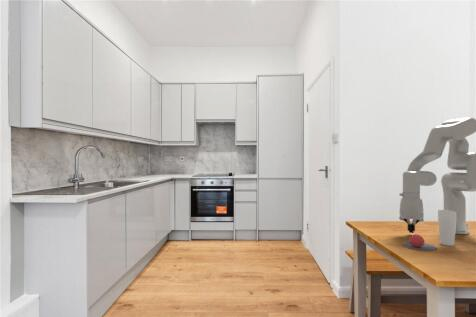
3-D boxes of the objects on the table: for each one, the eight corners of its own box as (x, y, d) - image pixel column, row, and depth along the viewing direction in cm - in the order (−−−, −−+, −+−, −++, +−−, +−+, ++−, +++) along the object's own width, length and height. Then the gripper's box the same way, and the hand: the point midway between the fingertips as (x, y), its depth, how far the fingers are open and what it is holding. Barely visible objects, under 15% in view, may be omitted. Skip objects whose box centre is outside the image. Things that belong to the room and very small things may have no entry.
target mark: (413, 241, 138) (413, 240, 138) (443, 248, 126) (443, 247, 126) (395, 244, 132) (395, 243, 132) (425, 252, 120) (425, 251, 120)
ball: (416, 241, 123) (415, 252, 125) (427, 237, 124) (427, 248, 126) (406, 234, 128) (406, 244, 130) (417, 230, 129) (416, 240, 131)
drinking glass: (459, 247, 128) (459, 212, 129) (442, 246, 130) (442, 211, 130) (451, 243, 135) (451, 210, 135) (435, 242, 136) (435, 209, 137)
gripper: (395, 195, 149) (395, 232, 149) (430, 197, 144) (430, 235, 143) (393, 194, 156) (393, 229, 156) (426, 195, 151) (427, 232, 150)
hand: (411, 232), depth 150 cm, fingers closed
